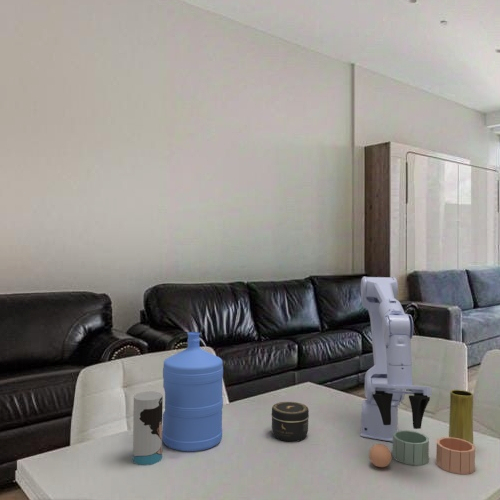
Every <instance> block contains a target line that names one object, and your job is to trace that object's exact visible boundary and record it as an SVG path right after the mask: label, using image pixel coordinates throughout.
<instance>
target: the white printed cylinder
mask: <svg viewBox="0 0 500 500" xmlns="http://www.w3.org/2000/svg"><path fill="white" fill-rule="evenodd" d="M163 399H164V398H163V393H161V392H158V391H151V390H150V391H141V392H138V393H136V394H134V396H133V420H132V421H133V430H132V431H133V435H132V437H133V438H132V440H133V441H132V443H133V445H132V448H133V449H132V461H133V463H135V464H137V465H141V466H148V465H154V464H156V463H159V462H161V460H162V458H163V440H162V431H163V402H164V401H163Z"/></svg>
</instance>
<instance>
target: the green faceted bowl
mask: <svg viewBox="0 0 500 500" xmlns="http://www.w3.org/2000/svg"><path fill="white" fill-rule="evenodd" d="M399 430H400V429H399ZM392 457H393V458H394V459H395V460H396V461H398V462H400V463H402V464H404V465H405V464H406V465H411V466H424V465H426V464H428V463H429V458H430V437H428V436H427V435H426V434H424V433H422V432H419V431H416V430H415V431H414V430H407V429H403V430H402V429H401V430H400V431H396V432H394V434H393V442H392Z"/></svg>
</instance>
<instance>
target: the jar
mask: <svg viewBox="0 0 500 500" xmlns="http://www.w3.org/2000/svg"><path fill="white" fill-rule="evenodd" d="M309 417H310V415H309V407H308V406H307V405H305V404H304V403H300V402H295V401H281V402H277V403H274V404H273V406H272V407H271V430H272V435H273V436H274V438H276V439H277V440H280V441H282V442H288V443H290V442H291V443H292V442H293V443H294V442H296V443H297V442H300V441H302V440H305V439H306V437H307V435H308V432H309Z"/></svg>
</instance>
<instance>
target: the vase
mask: <svg viewBox="0 0 500 500" xmlns="http://www.w3.org/2000/svg"><path fill="white" fill-rule="evenodd" d="M449 394H450V395H449V398H450V399H449V400H450V401H449V419H448V420H449V423H448V424H449V426H448V437H453V438H459V439H463V440H465V441H468V442H470V443H472V444H473V445H474V415H473V414H474V394H473V393H472V392H470V391H468V390H463V389H452V390H451V391H450V392H449Z"/></svg>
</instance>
